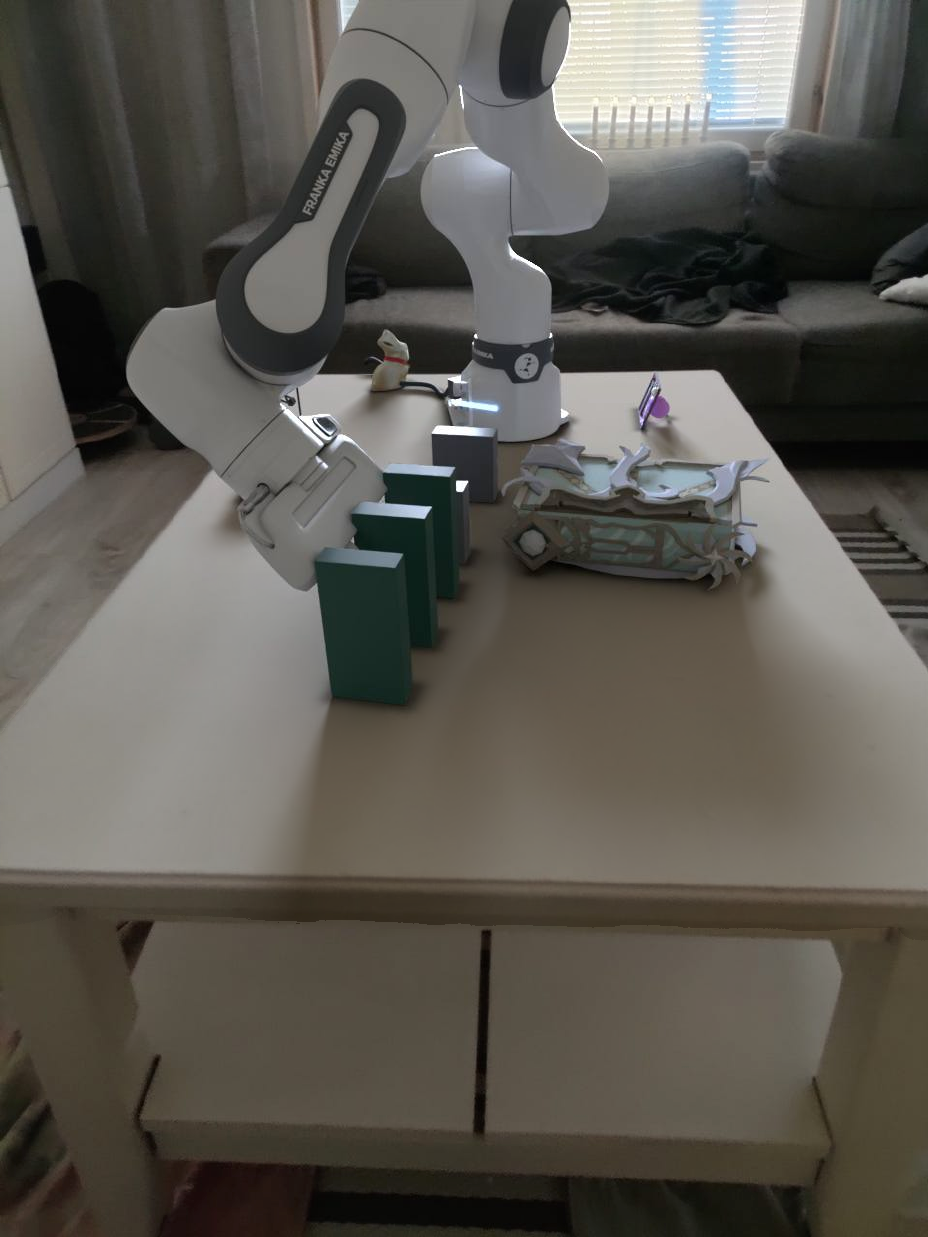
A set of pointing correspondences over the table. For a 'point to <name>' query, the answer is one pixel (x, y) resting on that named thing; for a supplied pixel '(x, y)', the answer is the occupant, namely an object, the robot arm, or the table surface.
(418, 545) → the green book
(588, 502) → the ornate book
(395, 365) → the chocolate bunny
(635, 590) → the table surface
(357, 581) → the green books
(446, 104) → the robot arm
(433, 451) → the grey books
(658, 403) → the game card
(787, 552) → the table surface
